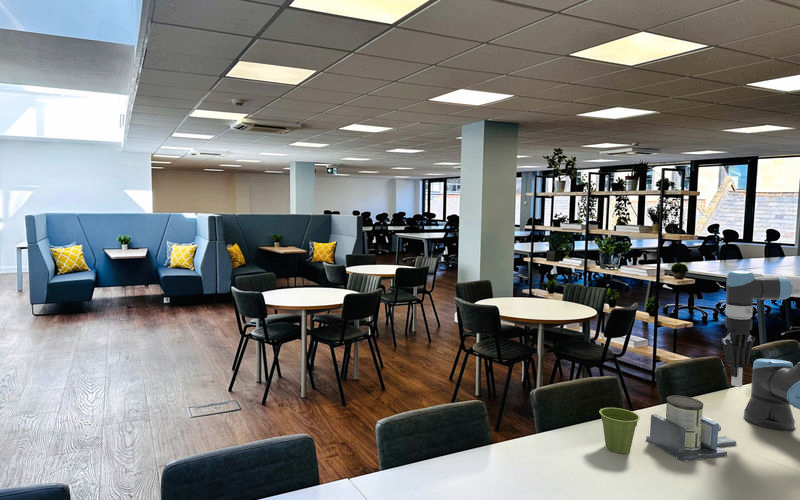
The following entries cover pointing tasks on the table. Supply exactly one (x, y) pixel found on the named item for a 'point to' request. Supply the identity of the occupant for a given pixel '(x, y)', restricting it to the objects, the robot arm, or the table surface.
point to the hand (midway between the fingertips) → (736, 385)
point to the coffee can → (686, 418)
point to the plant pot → (618, 428)
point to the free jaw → (709, 433)
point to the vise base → (681, 440)
